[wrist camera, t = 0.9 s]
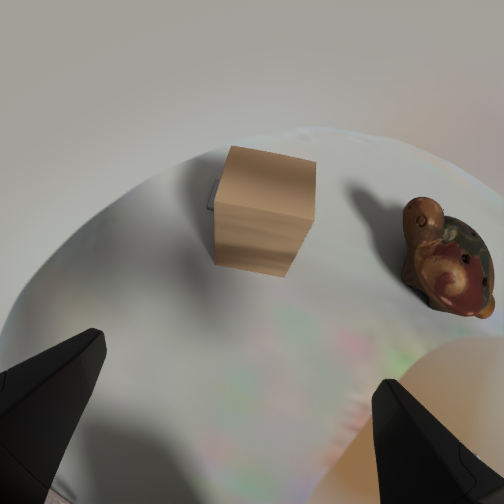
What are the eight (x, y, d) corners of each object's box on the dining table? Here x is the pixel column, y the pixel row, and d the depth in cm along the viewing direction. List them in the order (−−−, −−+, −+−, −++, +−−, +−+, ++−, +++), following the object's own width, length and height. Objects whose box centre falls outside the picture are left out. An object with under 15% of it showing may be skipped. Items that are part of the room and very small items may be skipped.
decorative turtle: (385, 210, 30) (426, 164, 23) (471, 284, 28) (517, 255, 21) (357, 275, 25) (410, 230, 18) (458, 352, 23) (516, 331, 16)
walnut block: (284, 277, 25) (314, 220, 17) (215, 264, 25) (214, 201, 17) (289, 228, 27) (316, 162, 19) (226, 216, 27) (231, 145, 19)
